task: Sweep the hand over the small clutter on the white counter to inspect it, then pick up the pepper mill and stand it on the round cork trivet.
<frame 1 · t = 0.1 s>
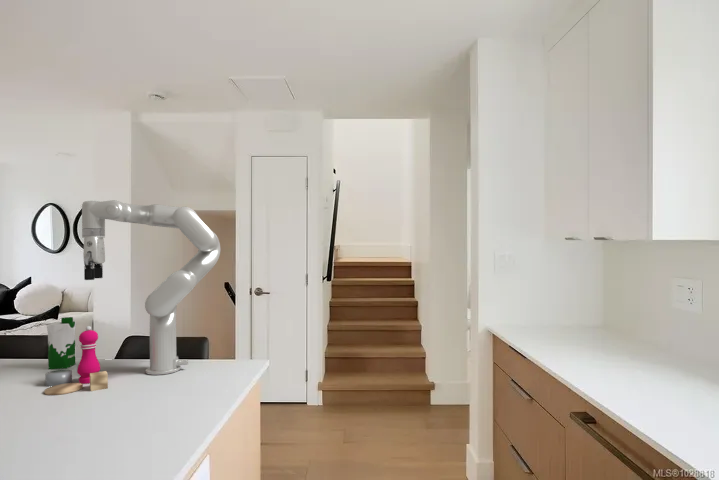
hand: (93, 279, 173), 37 cm above the counter, tool pointing down, fingers open, 9 cm apart
pepper mill: (89, 381, 166), on the counter
cork trivet: (63, 390, 156), on the counter
oak block: (98, 388, 158), on the counter
milk carton: (62, 367, 188), on the counter
grey rounded dome: (59, 383, 165), on the counter
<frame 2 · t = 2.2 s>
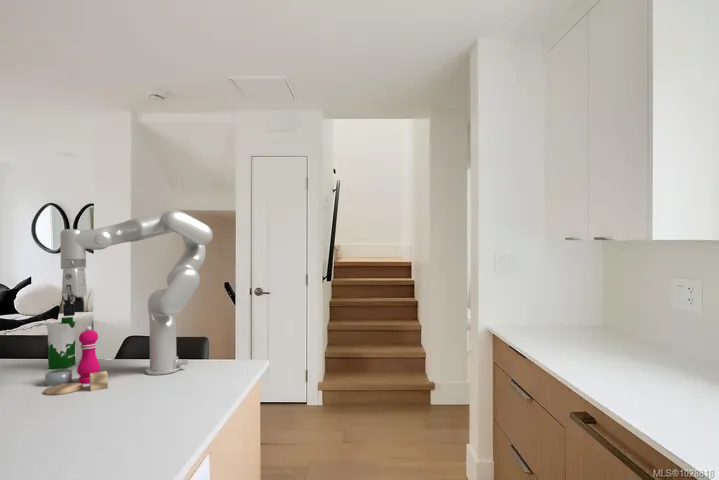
hand: (74, 313, 159), 25 cm above the counter, tool pointing down, fingers open, 9 cm apart
nothing on the counter moved.
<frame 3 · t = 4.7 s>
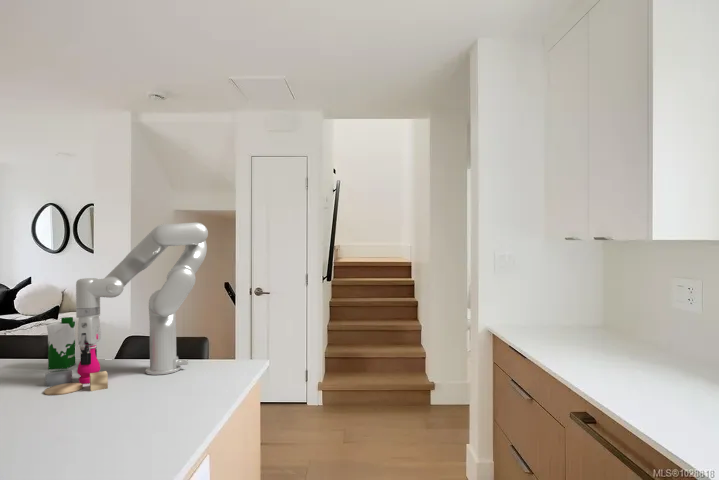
hand: (88, 361, 166), 7 cm above the counter, tool pointing down, fingers closed on pepper mill, 5 cm apart
pepper mill: (89, 381, 166), on the counter, touching gripper
everything else where it was.
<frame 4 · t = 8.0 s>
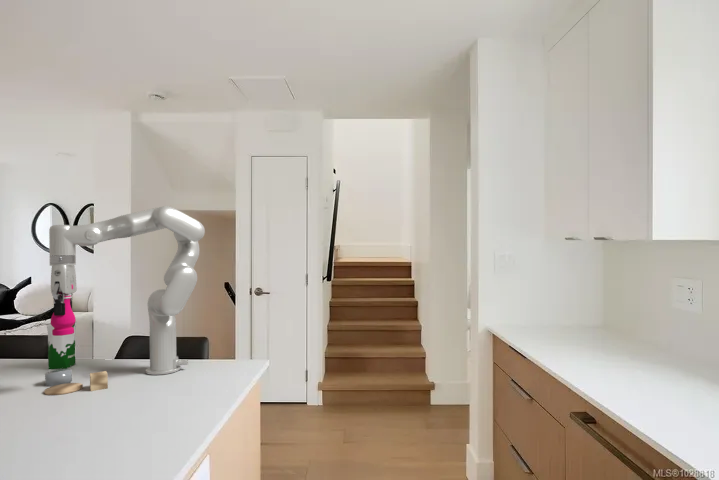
hand: (63, 313, 157), 26 cm above the counter, tool pointing down, fingers closed on pepper mill, 5 cm apart
pepper mill: (63, 334, 156), point 19 cm above the counter, touching gripper
everything else where it was.
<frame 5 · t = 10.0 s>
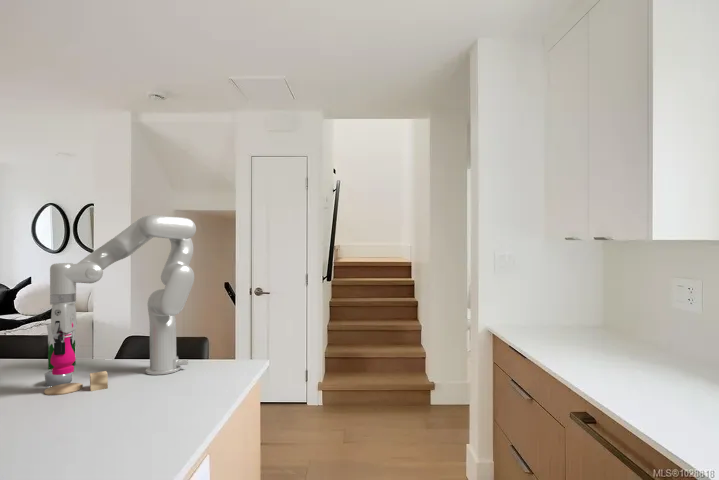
hand: (63, 351, 156), 13 cm above the counter, tool pointing down, fingers closed on pepper mill, 5 cm apart
pepper mill: (63, 373, 156), point 6 cm above the counter, touching gripper
everything else where it was.
when the fingers open (9 cm above the counter, at t = 11.3 s): pepper mill drops 1 cm, resting on cork trivet.
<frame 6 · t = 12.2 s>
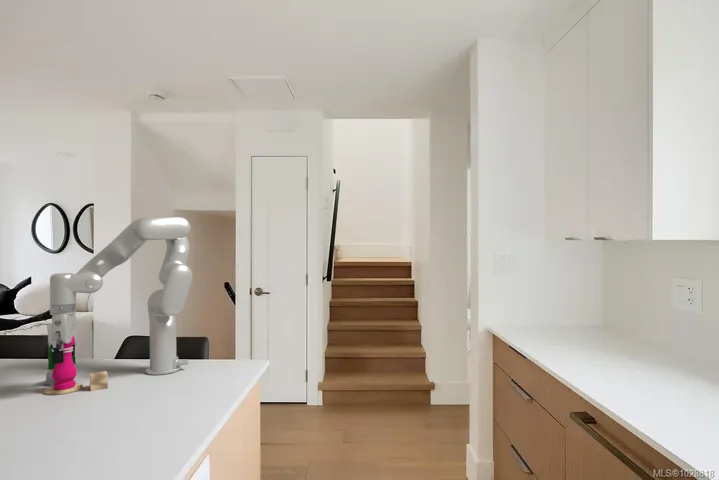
hand: (63, 359, 156), 10 cm above the counter, tool pointing down, fingers open, 9 cm apart
pepper mill: (64, 388, 156), point 1 cm above the counter, touching cork trivet
everything else where it was.
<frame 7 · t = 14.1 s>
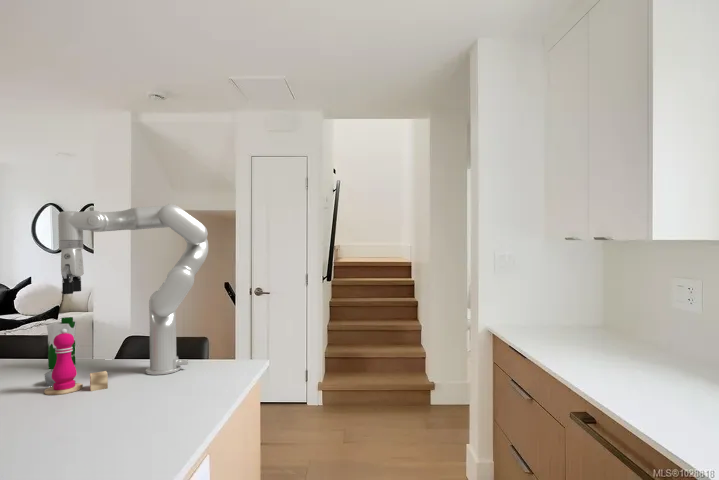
hand: (72, 292, 166), 32 cm above the counter, tool pointing down, fingers open, 9 cm apart
nothing on the counter moved.
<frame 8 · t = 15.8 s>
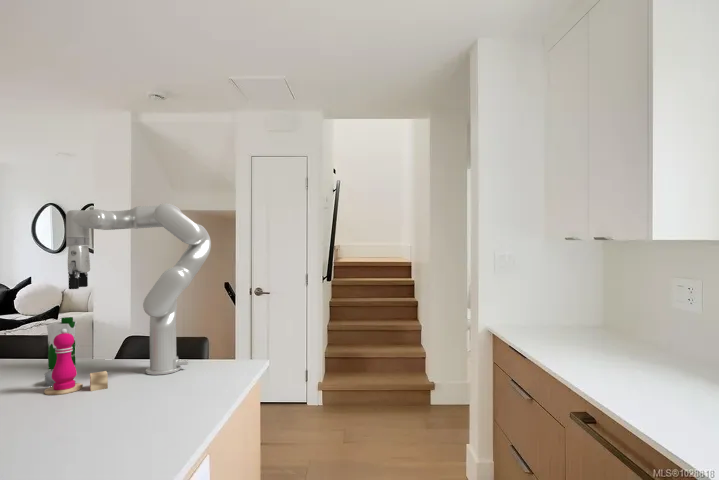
hand: (78, 287, 174), 33 cm above the counter, tool pointing down, fingers open, 9 cm apart
nothing on the counter moved.
at the end: pepper mill 0.2 cm from the cork trivet (horizontally); pepper mill tilted 0°; pepper mill point 0.6 cm above the counter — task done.
